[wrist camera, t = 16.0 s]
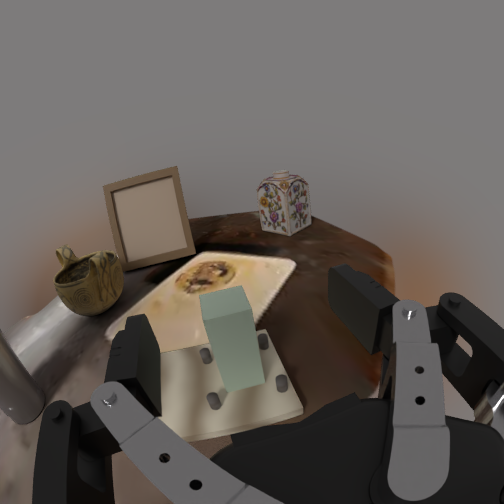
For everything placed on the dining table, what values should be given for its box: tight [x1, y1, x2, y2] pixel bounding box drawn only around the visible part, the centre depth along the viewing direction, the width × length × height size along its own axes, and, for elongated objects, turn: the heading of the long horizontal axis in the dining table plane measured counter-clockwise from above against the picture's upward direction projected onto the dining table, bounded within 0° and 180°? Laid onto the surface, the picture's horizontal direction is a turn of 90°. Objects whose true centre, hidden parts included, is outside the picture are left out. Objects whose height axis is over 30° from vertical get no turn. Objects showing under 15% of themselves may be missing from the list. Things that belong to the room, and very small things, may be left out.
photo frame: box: [103, 166, 196, 272], centre depth 75 cm, size 15×22×25 cm
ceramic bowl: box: [53, 245, 124, 316], centre depth 54 cm, size 22×17×15 cm
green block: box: [199, 285, 265, 393], centre depth 32 cm, size 5×5×12 cm
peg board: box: [158, 329, 303, 442], centre depth 33 cm, size 24×16×4 cm, turn 104°
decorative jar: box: [257, 170, 311, 236], centre depth 83 cm, size 12×12×18 cm
